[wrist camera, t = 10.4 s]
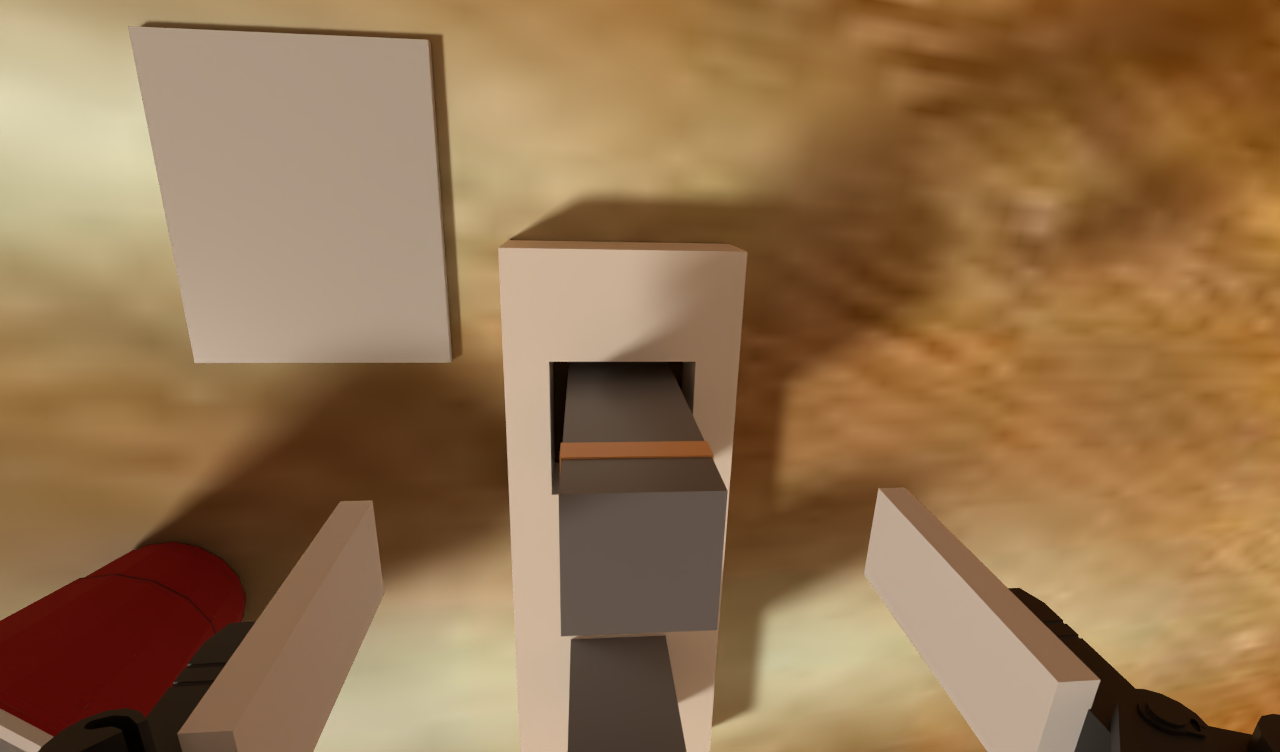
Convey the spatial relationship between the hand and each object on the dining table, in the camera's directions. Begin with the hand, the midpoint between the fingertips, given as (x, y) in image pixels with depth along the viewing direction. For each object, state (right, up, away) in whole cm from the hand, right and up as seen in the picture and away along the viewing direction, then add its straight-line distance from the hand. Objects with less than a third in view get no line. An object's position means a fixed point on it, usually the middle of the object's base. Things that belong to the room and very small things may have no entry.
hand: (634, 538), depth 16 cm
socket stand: (-1, -3, +13) cm, 13 cm away
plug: (-1, +3, +11) cm, 12 cm away
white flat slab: (-13, +11, +8) cm, 18 cm away
